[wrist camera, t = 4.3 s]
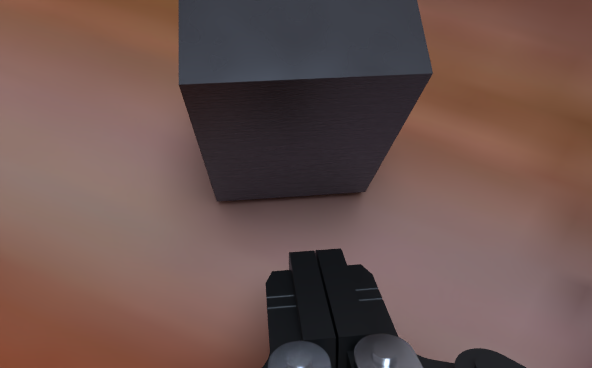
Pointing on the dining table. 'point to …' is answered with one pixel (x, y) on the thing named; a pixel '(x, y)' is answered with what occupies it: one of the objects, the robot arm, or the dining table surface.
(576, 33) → the dining table surface
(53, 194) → the dining table surface
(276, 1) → the dark boxy piece
